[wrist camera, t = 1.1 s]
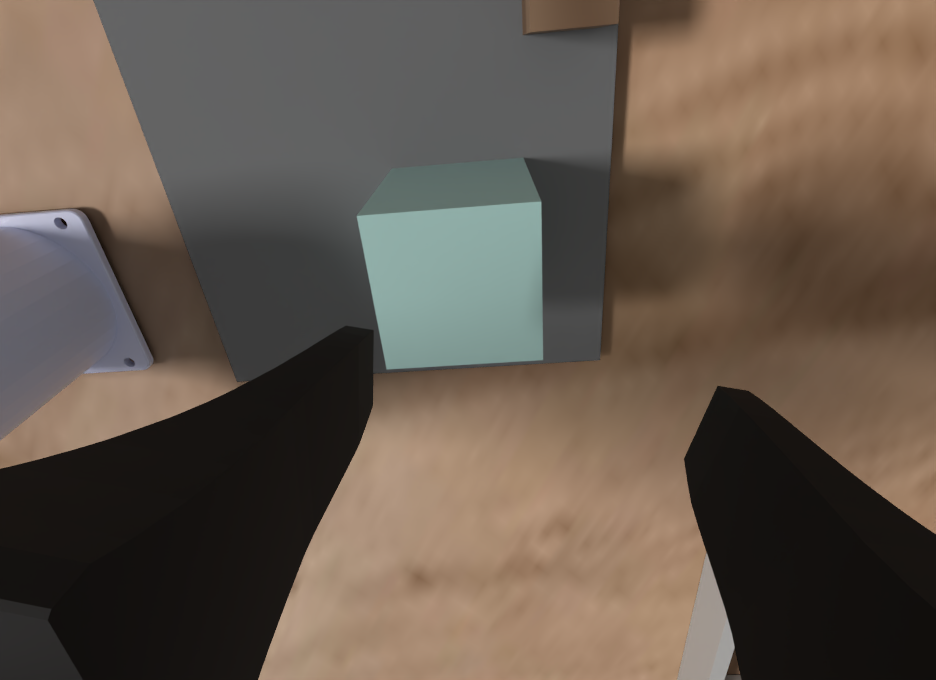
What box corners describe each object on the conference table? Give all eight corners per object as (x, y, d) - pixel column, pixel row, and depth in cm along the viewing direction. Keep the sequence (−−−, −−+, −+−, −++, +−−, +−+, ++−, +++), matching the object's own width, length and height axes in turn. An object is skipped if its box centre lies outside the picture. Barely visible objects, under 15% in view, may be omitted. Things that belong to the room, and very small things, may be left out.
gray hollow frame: (676, 682, 40) (692, 735, 37) (707, 548, 32) (731, 601, 29) (848, 679, 39) (879, 732, 36) (923, 540, 31) (972, 593, 28)
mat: (242, 374, 26) (237, 381, 25) (-24, -346, 14) (-44, -363, 13) (597, 353, 25) (600, 360, 24) (638, -447, 13) (645, -469, 12)
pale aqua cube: (410, 288, 23) (386, 369, 17) (391, 168, 20) (356, 215, 14) (526, 280, 22) (543, 360, 17) (523, 157, 20) (541, 201, 14)
